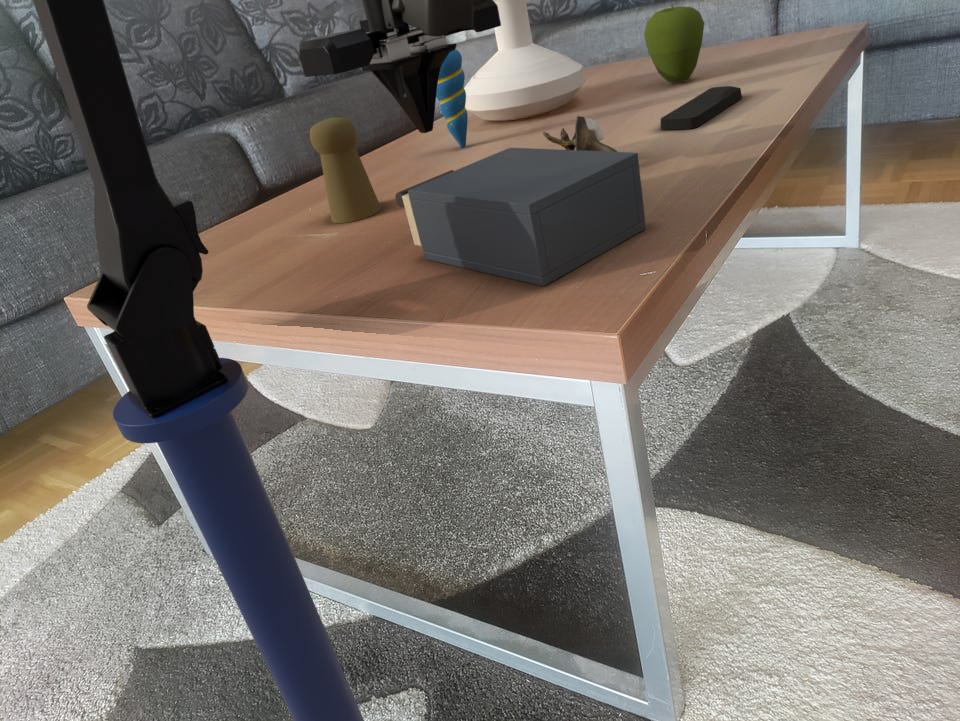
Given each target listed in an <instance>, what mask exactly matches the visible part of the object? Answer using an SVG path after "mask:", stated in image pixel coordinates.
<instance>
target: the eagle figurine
mask: <svg viewBox="0 0 960 721" xmlns="http://www.w3.org/2000/svg"><path fill="white" fill-rule="evenodd" d="M542 134H543V136H544V137H545V138H546V140H548V141H549V142H551V143H553V144H557V145H559V146H561V148H564V150H581V151H606V152H618V150H616V149H615V148H613V147H612V146H609V145H607V144H605V143H603V142H601V141H602V140H604V134H603V131H602V129H601V126H600V125H599V122H598V121H596V120H595V119H594V118H591V117H585V116H581V115H580V116H579V115H577V116H576V120H575V129H574V134H573V136H572V139H570V136H569V134H568V132H567V131H566V129H565V128H564V127H562V128H561V130H560V138H557V137H555V136H553V135H551V134H549V132H546V131H543V132H542Z"/></svg>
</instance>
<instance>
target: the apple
mask: <svg viewBox="0 0 960 721" xmlns="http://www.w3.org/2000/svg"><path fill="white" fill-rule="evenodd" d="M702 16H703V15H702V14H701V12H700V11H699V10H697V9H696V8H694V7H693V6H681V5H680V6H673V3H672V2H671V7H667V8H663V9H661V10H658V11H655V12H654V14H653V15H651V17H650V18H649V19H648V20H647V21H646V24H645V29H644V33H643V37H644V40H645V41H644V42H645V45H646V48H647V52H648V53H647V54H648V55H649V57H650V59H651V61H652V64H653V65H654V67H655V69H656V71H657V74H659V75H660V76H661V77H662V78H663V79H664V80H665V81H666V82H667V83H668V84H673V83H674V84H676V83H681V82H687V81H689V80H690V78H691V77H692V75H693V73H694V71H695V69H696V68H697V65H698V60H699V57H700V52H701V48H702V45H703V37H704V30H705V21H704V19H703V17H702Z"/></svg>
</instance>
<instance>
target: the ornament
mask: <svg viewBox="0 0 960 721" xmlns="http://www.w3.org/2000/svg"><path fill="white" fill-rule="evenodd" d="M462 63H463V57H462V54H461V52H460V51H459V50H457V48H456V49H455V50H454V51H451V52H450V53H449V54H448V56H447V57H446V59H445V61H444V62H443V64H442V66H441V69H440V73H439V78H438V84H437V92H436V100H437V101H438V102H439V108H440V112H441V114H442V116H443V117H444V119H445V121H446V128H447V131H449V133H450V135H451V136H452V137H453V139H454V140H455V141H456V144H458V146H459V147H460V148H461V149H463V148H466V146H467V136H468V135H467V134H468V119H469V118H468V116H469V115H468V111H467V110H466V108H465V104H466V92H465V89H464V87H465V86H464V85H465V78H466V77H465V75H466V74H465V72H464V70H463V67H462V65H463V64H462Z"/></svg>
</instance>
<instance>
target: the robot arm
mask: <svg viewBox="0 0 960 721" xmlns="http://www.w3.org/2000/svg"><path fill="white" fill-rule="evenodd" d="M361 1H362V7H363V11H364V13H365V17H366V18H365V19H361V20H359V27H360V28H357V29H352V30H350V29H349V30H346V31H339V32H334V33H330V34H325V35H323V36H319V37H318V36H317V37H315V38H311V39H308V40H304V41H302V43H301V47H300V50H299V57H298V58H299V61H300V64H301V68H302V72H303V74H304V77H305V78H307V77H308V78H309V77H318V76H319V77H320V76H332V75H338V74H342V73H346V72H349V71H353V70H356V69H361V71H362V72H371V73H372V74H373V75H374V76H375V77H376V79H377V80H378V81H379V82H380V83H381V84H382V85H383V86H384V88H386V90H387V91H388V92H389V93H390V94H391V95H392V97H393V99H395V101H396V102H397V104H398V105H399V106H400V107H401V109H402V110H403V111H404V113H405V114H406V115H407V117H408V119H410V121H411V122H412V124H413V125H414V126H415V128H416V129H417V130H418V132H419V133H421V134H427V133H430V132H433V130H434V122H435V113H436V111H435V110H436V103H437V102H436V101H437V98H436V92H437V84H438V78H439V73H440V69H441V66H442V64H443V62H444V61H445V59H446V57H447V56H448V54H449V53H450V52H451V51H454V50H455V49H456V50H457V43H448V42H447V36H450V35H455V34H458V33H461V32H467V31H474V32H475V33H482V32H485V31H488V30H492V29H494V28H495V27H499V26H501V22H500V16H499V10H498V6H497V4H496V3H495V2H494V1H493V0H361ZM32 3H33V6H34V8H35V11H36V15H37V17H38V20H39V23H40V26H41V29H42V33H43V35H44V38H45V42H46V44H47V47H48V50H49V53H50V56H51V60H52V62H53V66H54V69H55V72H56V76H57V77H58V80H59V83H60V87H61V90H62V92H63V96H64V99H65V102H66V106H67V108H68V110H69V114H70V118H71V120H72V123H73V126H74V129H75V132H76V135H77V138H78V142H79V144H80V148H81V150H82V154H83V157H84V159H85V163H86V165H87V168H88V171H89V174H90V178H91V181H92V185H93V193H94V194H93V208H94V209H93V226H94V233H95V240H96V247H97V253H98V255H97V256H98V261H99V265H100V269H101V273H100V275H99V278H98V279H97V282H96V284H95V286H94V289H93V291H92V293H91V296H90V297H89V300H88V302H87V304H86V308H87V310H88V311H89V312H90V313H91V314H92V315H93V316H94V317H95V318H96V319H98V320H99V321H100V322H101V323H102V325H104V326H106V327H109V328H110V329H111V330H113V331H112V332H110V333H108V334H106V335H104V336H103V338H104V341H105V343H106V345H107V347H108V349H109V351H110V353H111V355H112V357H113V359H114V361H115V363H116V365H117V367H118V369H119V371H120V373H121V375H122V377H123V379H124V381H125V383H126V385H127V388H128V389H129V390H128V391H129V392H128V391H127V392H128V393H127V392H126V393H127V395H128V397H129V399H130V400H131V401H133V402H134V403H135V404H136V405H137V406H138V407H139V408H140V409H141V410H142V411H144V412H145V413H146V414H147V415H148V416H149V417H150V418H152V419H154V418H158V417H160V416H162V415H164V414H166V413H168V412H170V411H172V410H174V409H176V408H178V407H180V406H182V405H184V404H186V403H188V402H190V401H192V400H194V399H196V398H198V397H200V396H202V395H204V394H206V393H208V392H210V391H211V390H213V389H215V388H217V387H219V386H221V385H223V384H225V383H227V382H228V379H227V377H226V375H224V374H223V373H221V372H219V371H218V370H221V369H222V363H221V361H220V359H219V358H220V356H219V354H218V352H217V349H216V348H215V344H214V342H213V339H212V337H211V335H210V333H209V330H208V327H207V326H206V324H204V323H202V322H200V321H198V320H197V319H196V317H195V306H194V303H195V302H194V292H195V290H196V288H197V286H198V284H199V283H200V281H202V279H203V271H204V268H203V261H202V260H203V259H202V257H201V255H208V254H209V250H208V248H207V247H206V246H205V245H204V243H203V242H202V239H201V237H200V235H199V231H198V226H197V216H196V211H195V206H194V203H193V201H191V200H188V199H184V198H180V197H177V196H176V197H175V196H171V195H168V194H167V193H166V191H165V190H164V188H163V187H162V185H161V184H160V182H159V180H158V178H157V176H156V173H155V170H154V166H153V162H152V160H151V156H150V153H149V150H148V146H147V143H146V138H145V136H144V133H143V129H142V125H141V123H140V119H139V115H138V112H137V109H136V106H135V102H134V99H133V95H132V92H131V89H130V85H129V81H128V79H127V75H126V72H125V68H124V65H123V62H122V58H121V54H120V51H119V49H118V45H117V42H116V38H115V35H114V32H113V28H112V25H111V21H110V18H109V15H108V11H107V7H106V4H105V1H104V0H32ZM410 26H412V27H413V28H410ZM394 32H395V33H394ZM390 33H391V34H390ZM392 33H393V34H392ZM388 34H389V35H388Z"/></svg>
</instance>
